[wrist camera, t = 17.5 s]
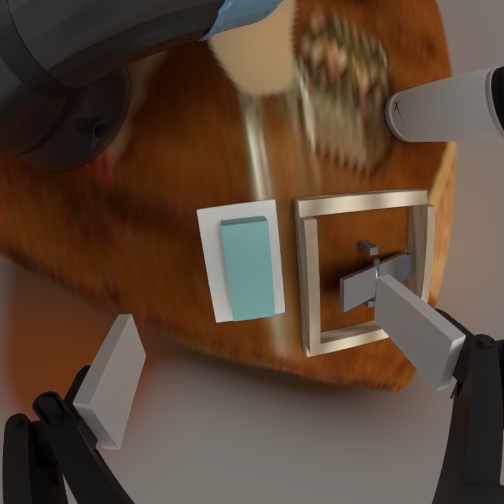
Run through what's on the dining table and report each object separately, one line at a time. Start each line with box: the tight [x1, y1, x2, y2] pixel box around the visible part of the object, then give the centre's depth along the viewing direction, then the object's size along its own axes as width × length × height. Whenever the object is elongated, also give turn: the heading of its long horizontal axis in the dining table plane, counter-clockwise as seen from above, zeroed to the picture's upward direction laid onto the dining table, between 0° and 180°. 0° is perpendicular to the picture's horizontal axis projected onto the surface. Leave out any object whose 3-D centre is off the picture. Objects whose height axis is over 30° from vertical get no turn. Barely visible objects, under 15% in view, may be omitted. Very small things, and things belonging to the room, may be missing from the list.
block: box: [221, 215, 275, 321], centre depth 30 cm, size 10×4×3 cm, turn 5°
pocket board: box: [293, 188, 435, 357], centre depth 32 cm, size 16×19×4 cm
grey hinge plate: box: [340, 252, 412, 312], centre depth 30 cm, size 11×5×2 cm, turn 96°
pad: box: [197, 199, 285, 323], centre depth 32 cm, size 8×13×1 cm, turn 7°
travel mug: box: [385, 67, 504, 143], centre depth 20 cm, size 6×7×20 cm
